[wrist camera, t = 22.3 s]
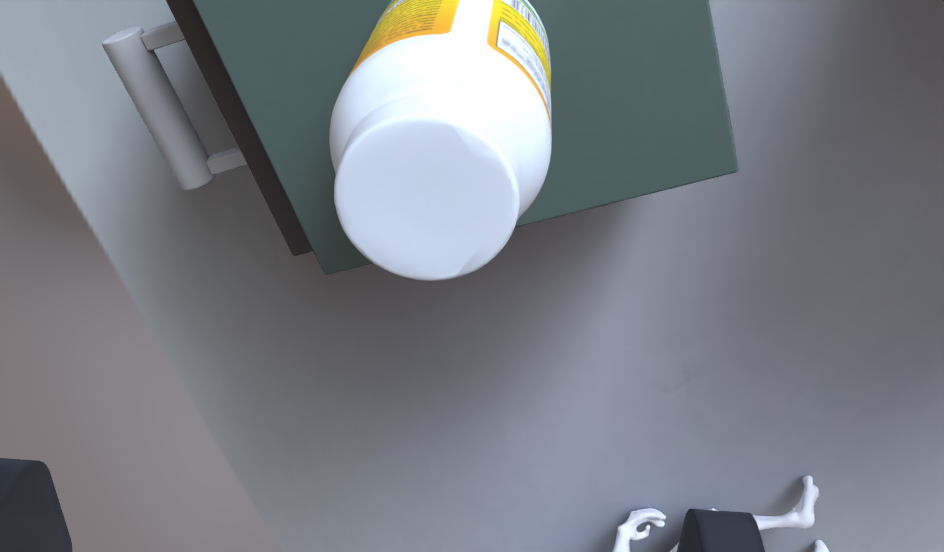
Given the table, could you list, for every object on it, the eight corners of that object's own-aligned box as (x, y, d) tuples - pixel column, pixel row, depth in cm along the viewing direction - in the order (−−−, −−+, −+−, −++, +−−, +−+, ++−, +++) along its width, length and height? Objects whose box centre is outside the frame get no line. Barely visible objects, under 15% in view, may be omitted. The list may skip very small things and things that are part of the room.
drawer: (247, 188, 40) (190, 283, 33) (118, -66, 34) (19, -13, 27) (638, 79, 36) (661, 162, 29) (567, -228, 30) (576, -212, 24)
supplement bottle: (573, -5, 26) (591, 126, 18) (519, 156, 28) (513, 333, 20) (393, -59, 25) (326, 50, 17) (356, 111, 28) (284, 274, 20)
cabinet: (367, 160, 39) (324, 276, 31) (244, -132, 33) (151, -82, 25) (694, 69, 36) (740, 172, 28) (627, -273, 30) (661, -267, 22)
